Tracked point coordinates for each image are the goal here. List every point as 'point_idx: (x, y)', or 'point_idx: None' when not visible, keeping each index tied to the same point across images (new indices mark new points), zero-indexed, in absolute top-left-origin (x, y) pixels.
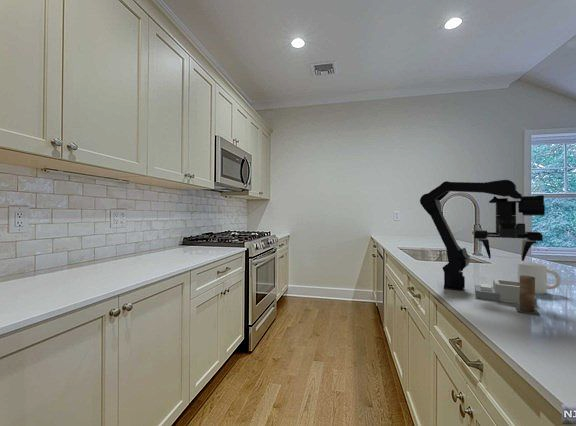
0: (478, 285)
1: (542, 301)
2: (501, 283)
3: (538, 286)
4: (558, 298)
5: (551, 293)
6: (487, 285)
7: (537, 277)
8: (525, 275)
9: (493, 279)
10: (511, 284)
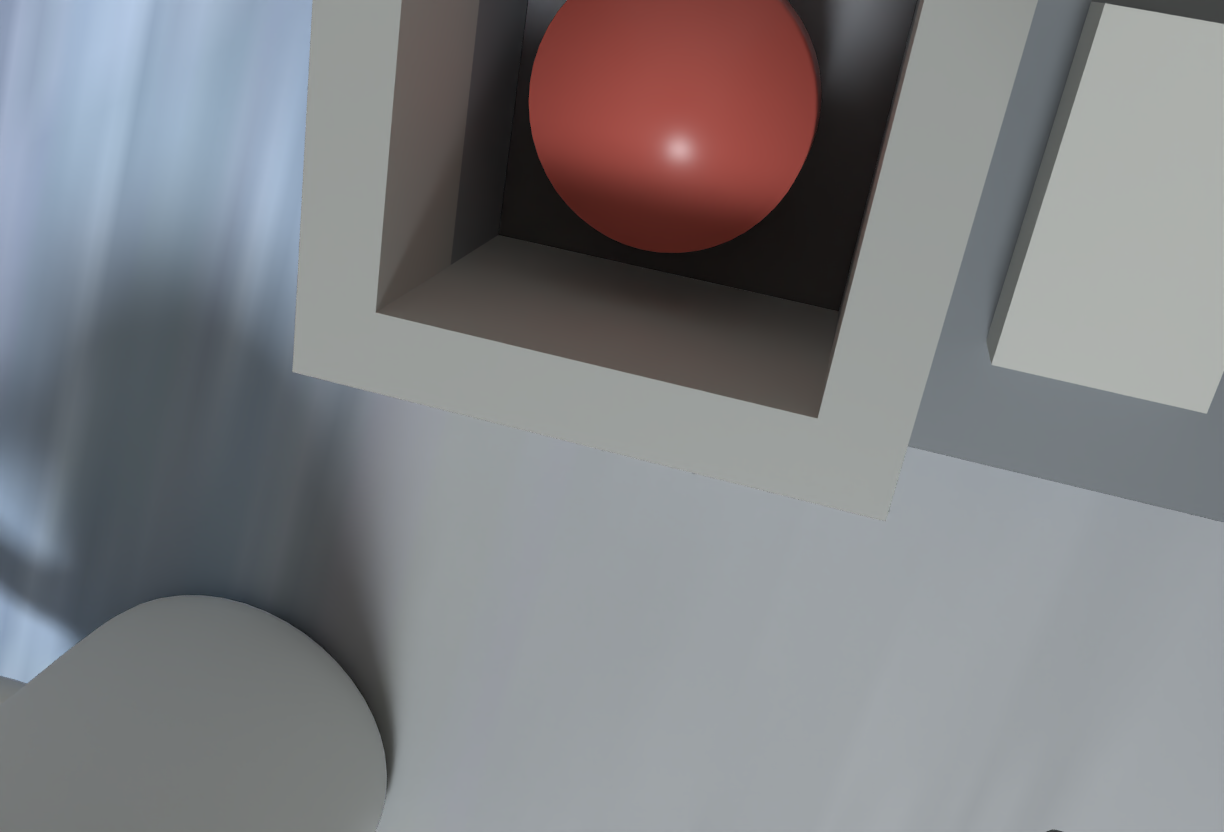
0: (1176, 495)
1: (241, 152)
2: (753, 371)
3: (122, 644)
4: (14, 418)
5: (43, 663)
6: (1102, 246)
7: (24, 741)
8: (178, 829)
9: (905, 450)
10: (571, 329)
